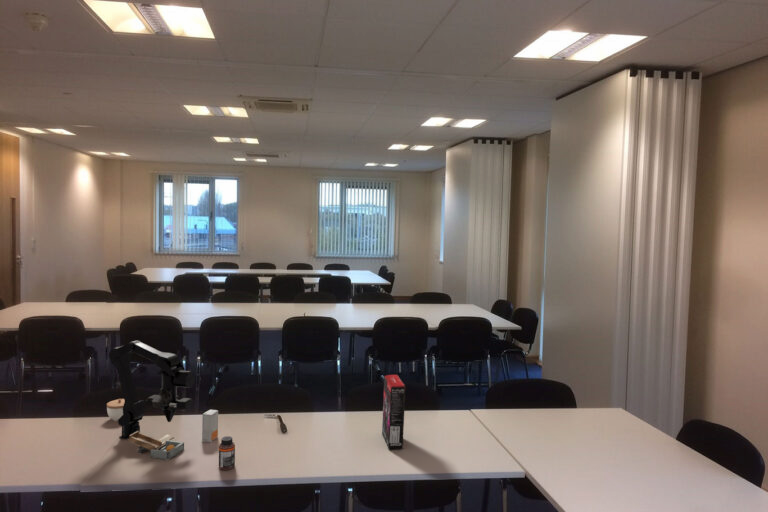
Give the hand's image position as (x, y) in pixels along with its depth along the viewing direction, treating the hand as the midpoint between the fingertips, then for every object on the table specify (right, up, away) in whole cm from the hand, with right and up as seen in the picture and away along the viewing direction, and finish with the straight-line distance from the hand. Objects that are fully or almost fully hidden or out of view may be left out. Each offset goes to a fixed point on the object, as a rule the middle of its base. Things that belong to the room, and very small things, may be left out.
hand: (169, 421), depth 215 cm
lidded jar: (-34, -7, +26) cm, 43 cm away
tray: (+3, -10, -10) cm, 14 cm away
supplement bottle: (+30, -11, -20) cm, 38 cm away
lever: (-6, -6, -3) cm, 9 cm away
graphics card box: (+94, -11, +8) cm, 95 cm away
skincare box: (+15, -9, +5) cm, 19 cm away
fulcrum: (-7, -9, -7) cm, 14 cm away
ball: (+5, -8, -10) cm, 13 cm away
